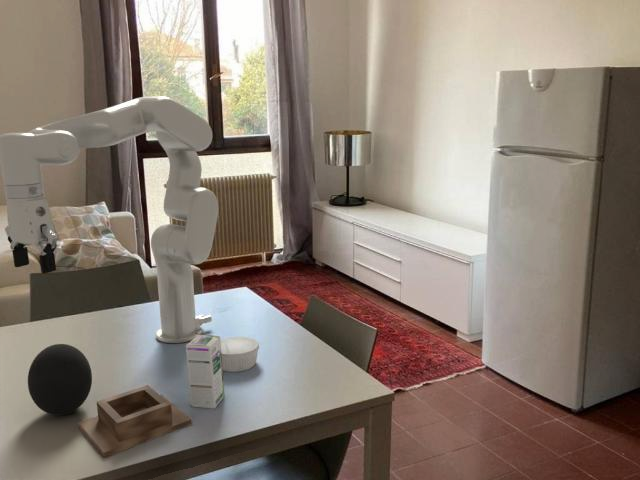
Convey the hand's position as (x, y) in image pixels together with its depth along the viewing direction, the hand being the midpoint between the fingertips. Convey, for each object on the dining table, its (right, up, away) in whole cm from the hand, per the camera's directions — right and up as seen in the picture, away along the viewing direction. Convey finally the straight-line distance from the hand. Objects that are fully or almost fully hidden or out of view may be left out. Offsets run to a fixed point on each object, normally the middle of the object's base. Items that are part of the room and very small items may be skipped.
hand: (35, 268), depth 131 cm
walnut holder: (+25, -31, -10) cm, 41 cm away
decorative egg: (+8, -31, -4) cm, 32 cm away
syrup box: (+38, -29, 0) cm, 48 cm away
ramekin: (+42, -25, +18) cm, 52 cm away
